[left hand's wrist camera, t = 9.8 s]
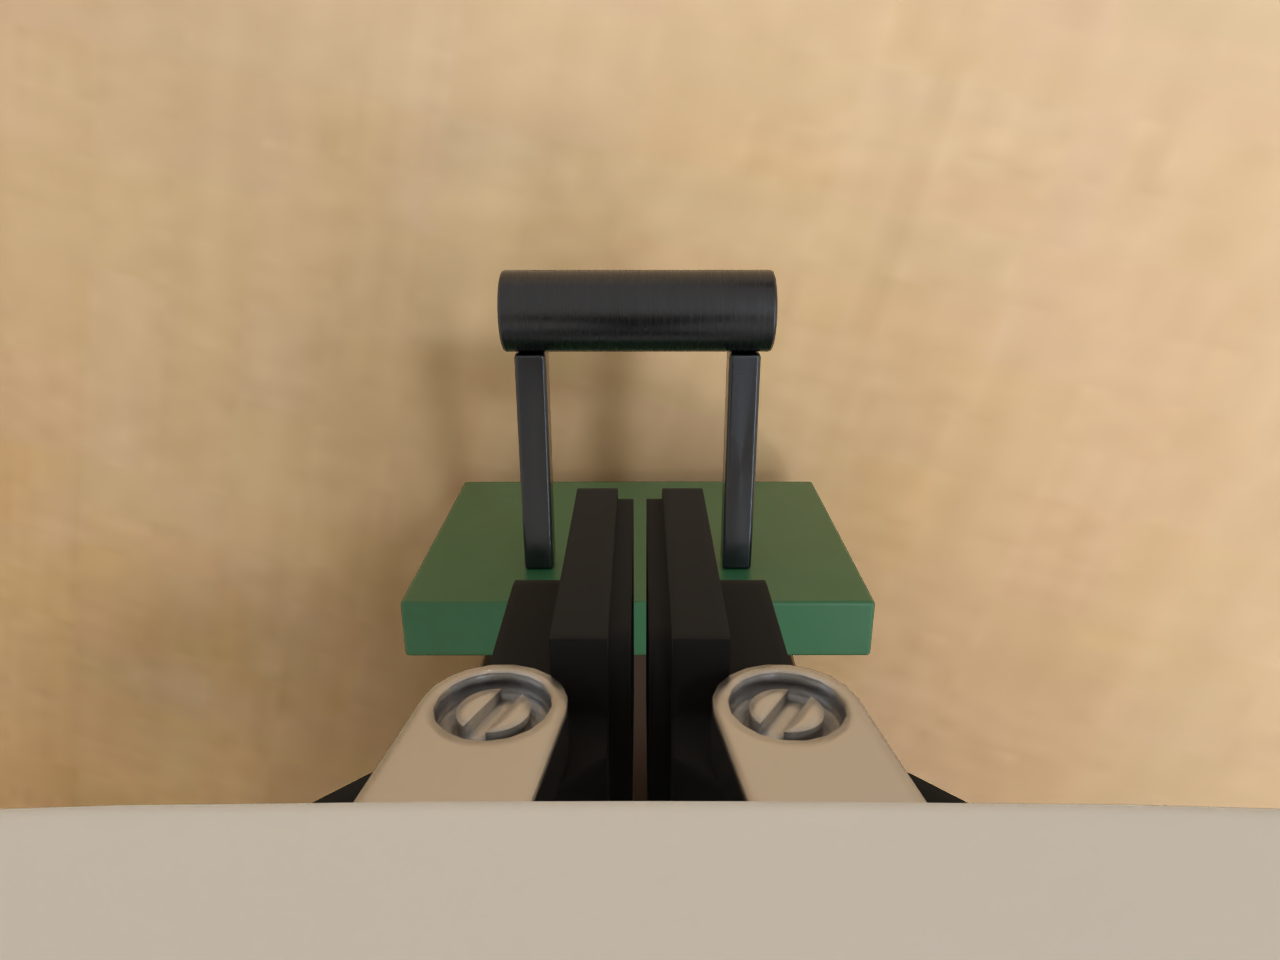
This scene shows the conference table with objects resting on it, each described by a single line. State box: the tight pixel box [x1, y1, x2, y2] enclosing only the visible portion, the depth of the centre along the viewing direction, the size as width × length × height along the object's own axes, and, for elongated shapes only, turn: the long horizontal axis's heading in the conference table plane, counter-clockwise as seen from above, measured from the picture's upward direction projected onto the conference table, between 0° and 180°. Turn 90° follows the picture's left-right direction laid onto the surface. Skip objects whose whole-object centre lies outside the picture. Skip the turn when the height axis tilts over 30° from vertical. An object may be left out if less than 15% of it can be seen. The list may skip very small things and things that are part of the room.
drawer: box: [401, 270, 875, 801], centre depth 22 cm, size 21×9×7 cm, turn 0°
